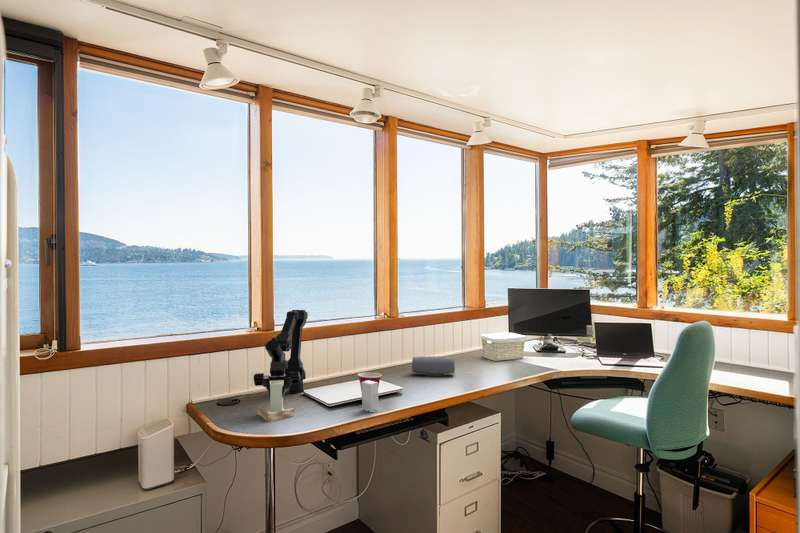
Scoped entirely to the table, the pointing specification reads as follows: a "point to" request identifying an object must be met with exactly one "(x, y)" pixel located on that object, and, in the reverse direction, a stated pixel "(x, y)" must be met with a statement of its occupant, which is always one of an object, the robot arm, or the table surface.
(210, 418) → the table surface
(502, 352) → the storage basket
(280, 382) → the sage block
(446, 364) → the bluetooth speaker
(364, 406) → the skincare box
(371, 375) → the plastic cup
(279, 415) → the beige flat l-shaped piece
